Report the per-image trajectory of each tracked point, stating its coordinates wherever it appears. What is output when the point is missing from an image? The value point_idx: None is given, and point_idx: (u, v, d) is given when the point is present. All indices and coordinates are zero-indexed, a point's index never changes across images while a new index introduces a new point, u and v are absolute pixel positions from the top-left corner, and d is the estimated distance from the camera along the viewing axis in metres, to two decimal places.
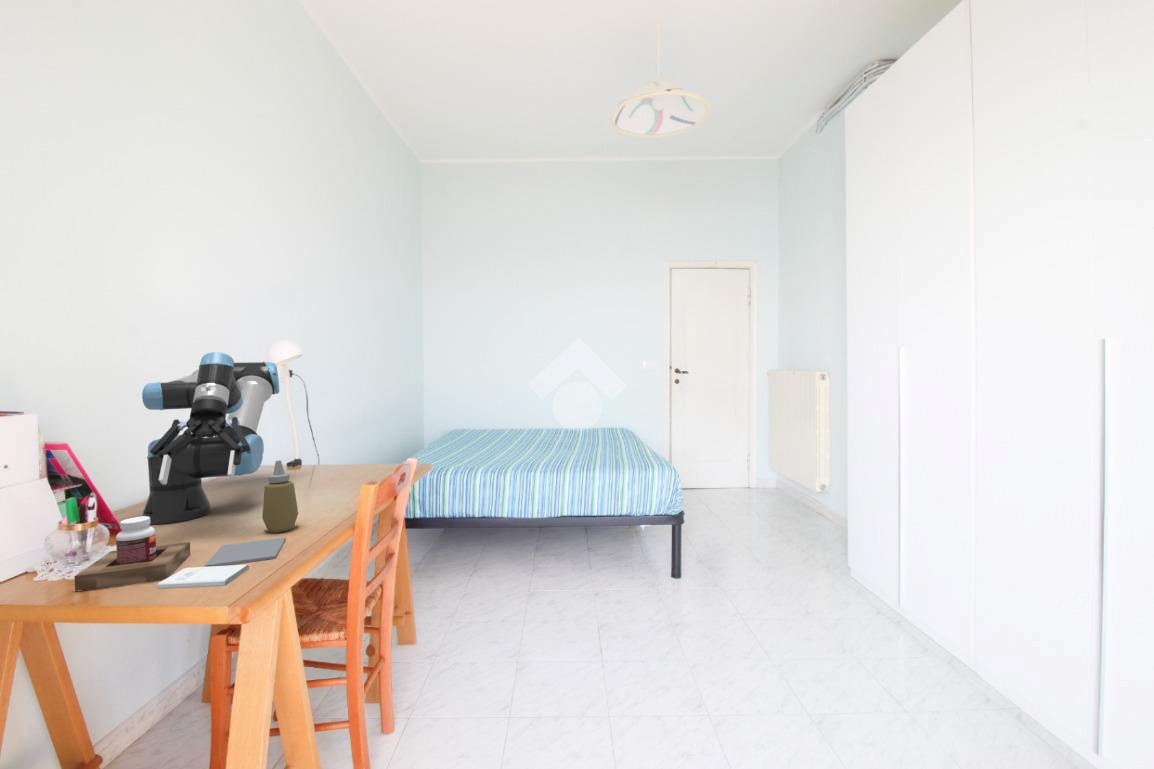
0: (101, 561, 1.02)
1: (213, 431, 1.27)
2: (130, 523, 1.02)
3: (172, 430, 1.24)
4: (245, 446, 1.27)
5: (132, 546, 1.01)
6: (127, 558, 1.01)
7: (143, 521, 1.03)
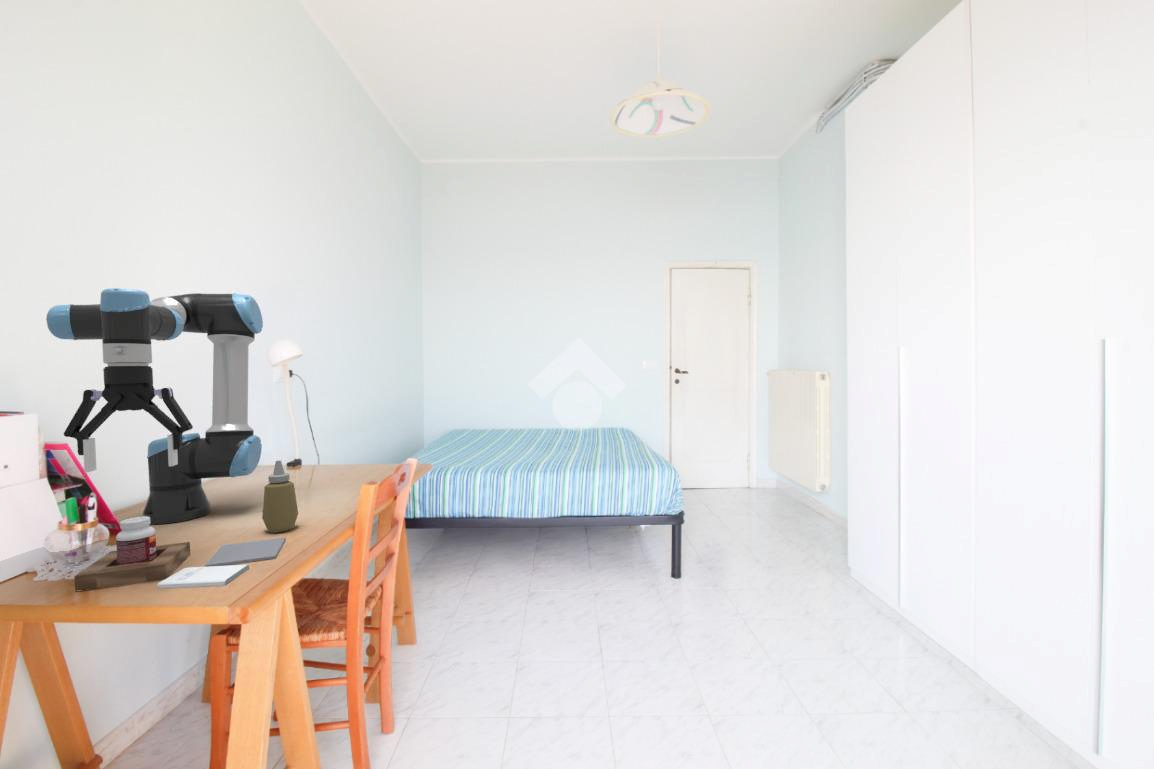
0: (101, 561, 1.02)
1: (140, 407, 1.03)
2: (130, 523, 1.02)
3: (85, 405, 0.99)
4: (184, 429, 1.05)
5: (132, 546, 1.01)
6: (127, 558, 1.01)
7: (143, 521, 1.03)
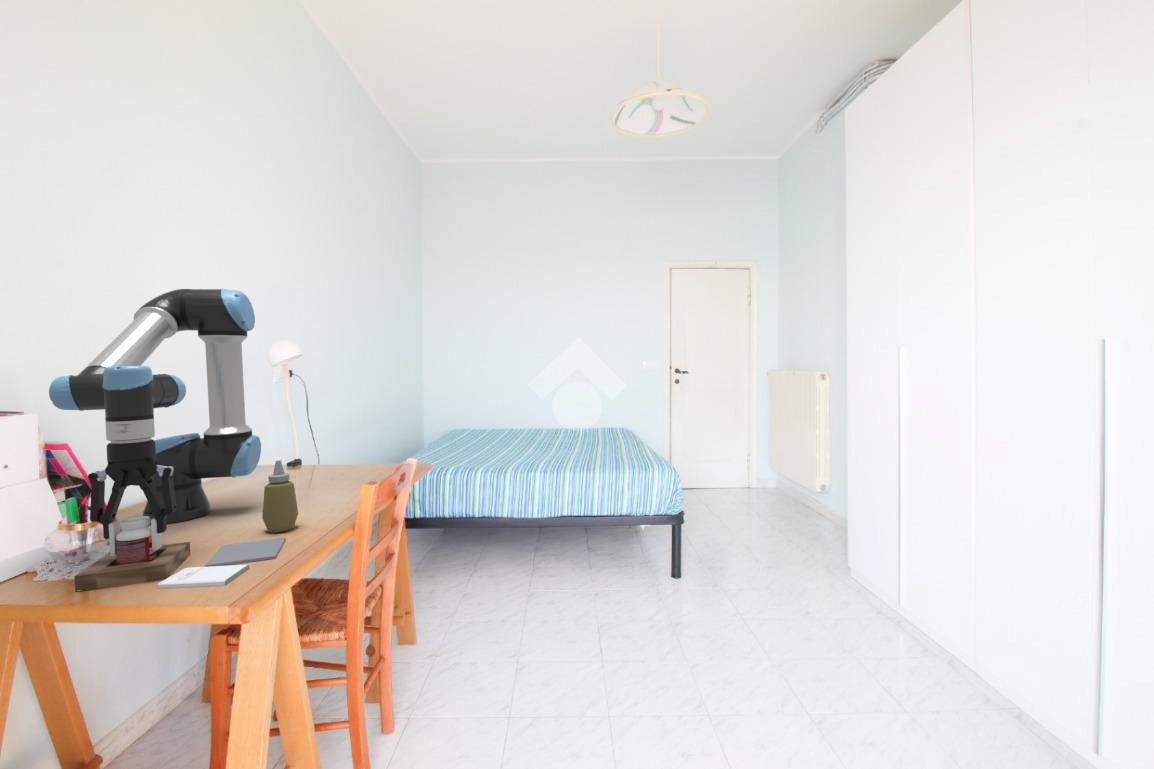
0: (101, 561, 1.02)
1: (137, 483, 1.03)
2: (130, 523, 1.02)
3: (96, 488, 1.00)
4: (167, 513, 1.05)
5: (132, 546, 1.01)
6: (127, 558, 1.01)
7: (143, 521, 1.03)
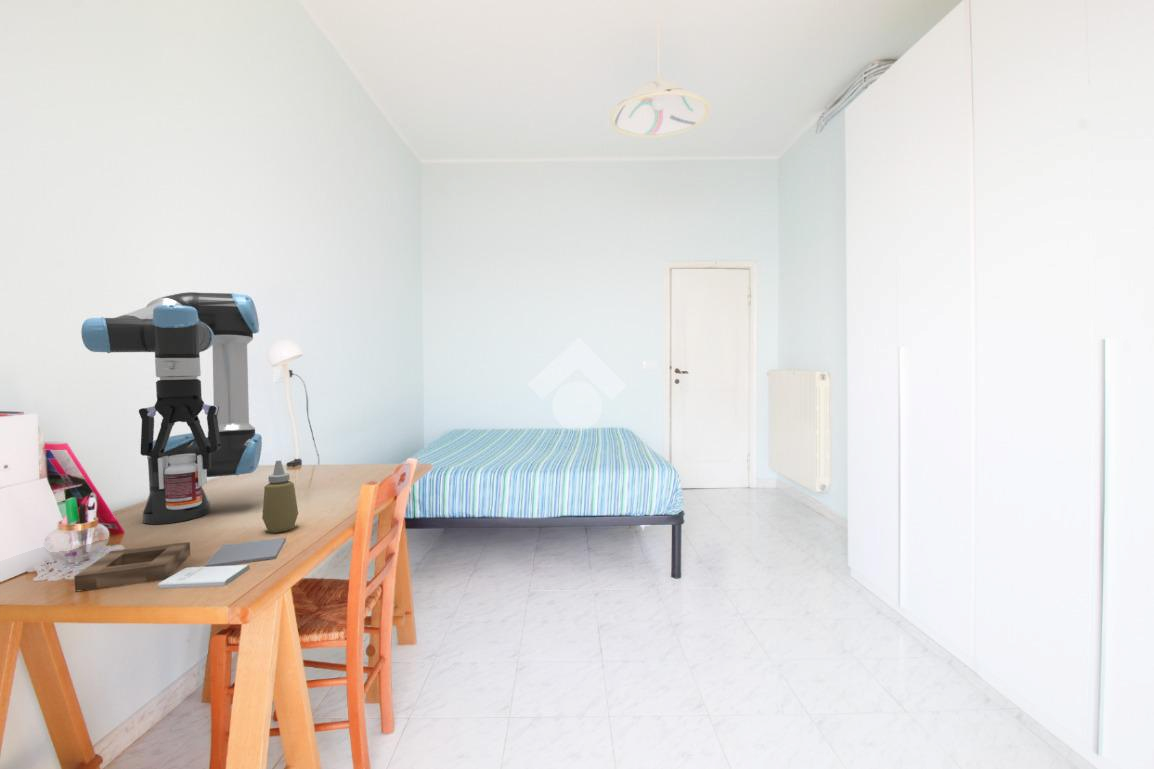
0: (101, 561, 1.02)
1: (184, 420, 1.06)
2: (177, 458, 1.05)
3: (146, 423, 1.04)
4: (213, 449, 1.08)
5: (180, 480, 1.05)
6: (175, 491, 1.05)
7: (189, 456, 1.07)
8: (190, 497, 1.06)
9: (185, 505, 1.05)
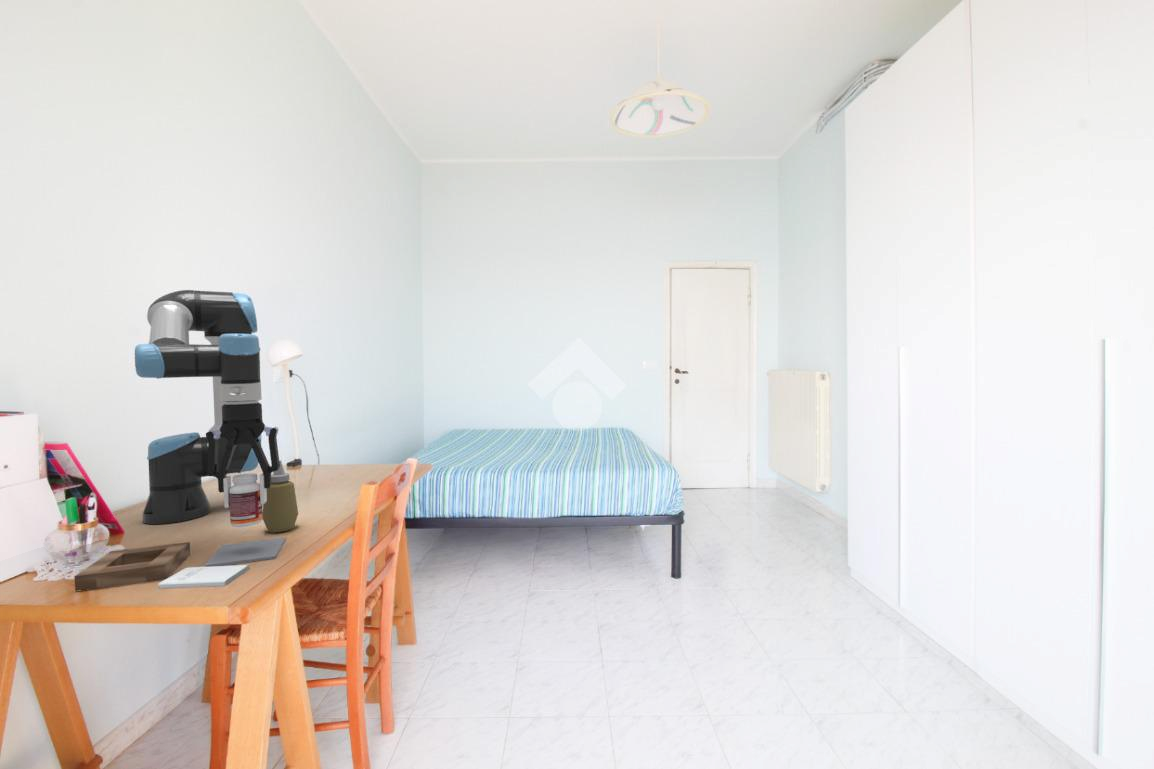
0: (101, 561, 1.02)
1: (247, 441, 1.12)
2: (242, 478, 1.11)
3: (213, 445, 1.10)
4: (274, 469, 1.14)
5: (245, 499, 1.11)
6: (240, 509, 1.10)
7: (253, 476, 1.13)
8: (254, 515, 1.12)
9: (249, 523, 1.11)
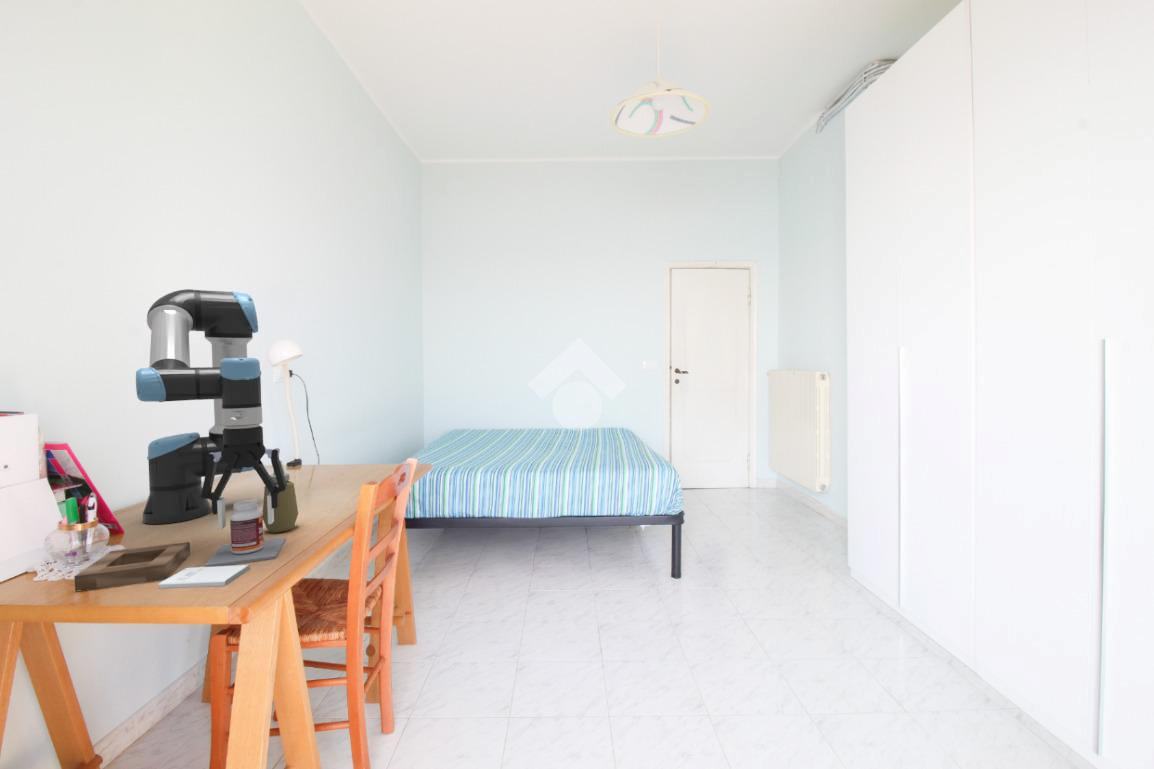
0: (101, 561, 1.02)
1: (250, 465, 1.13)
2: (243, 505, 1.12)
3: (211, 468, 1.10)
4: (281, 490, 1.15)
5: (246, 526, 1.11)
6: (241, 536, 1.11)
7: (253, 503, 1.13)
8: (255, 542, 1.12)
9: (250, 549, 1.12)
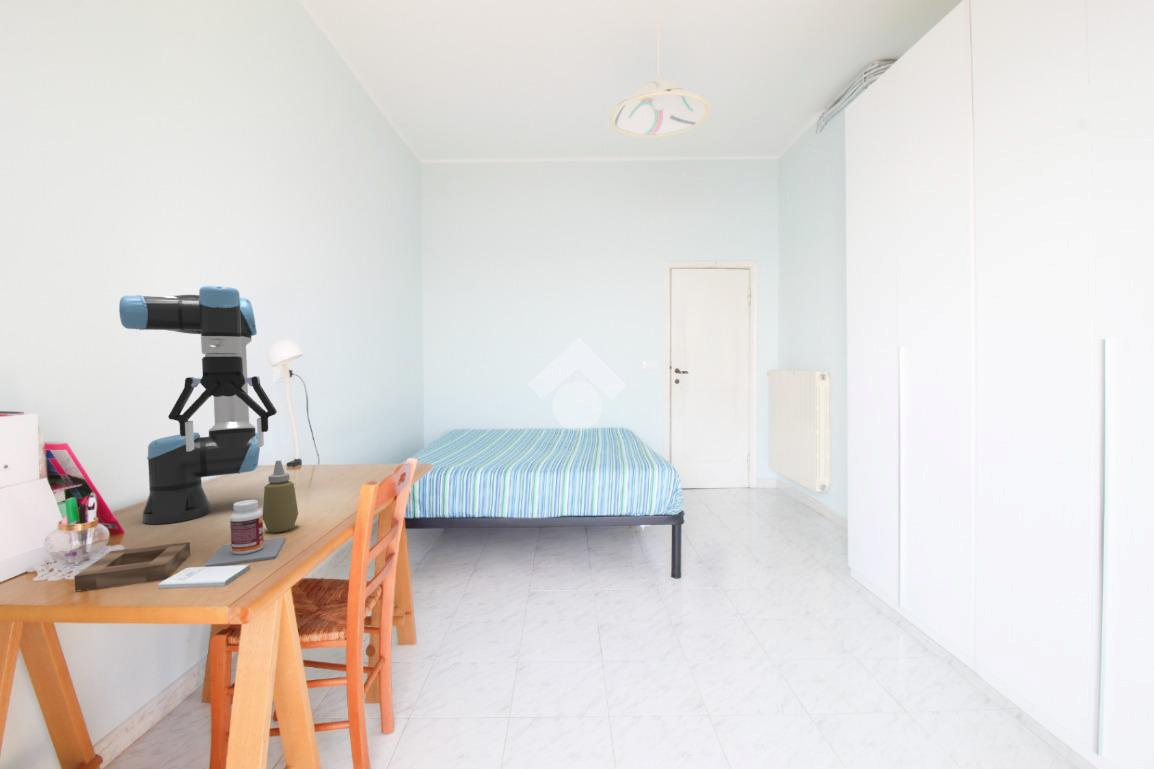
0: (101, 561, 1.02)
1: (233, 394, 1.14)
2: (243, 505, 1.11)
3: (187, 391, 1.11)
4: (271, 414, 1.17)
5: (246, 527, 1.11)
6: (241, 537, 1.11)
7: (253, 504, 1.13)
8: (255, 542, 1.12)
9: (250, 550, 1.12)
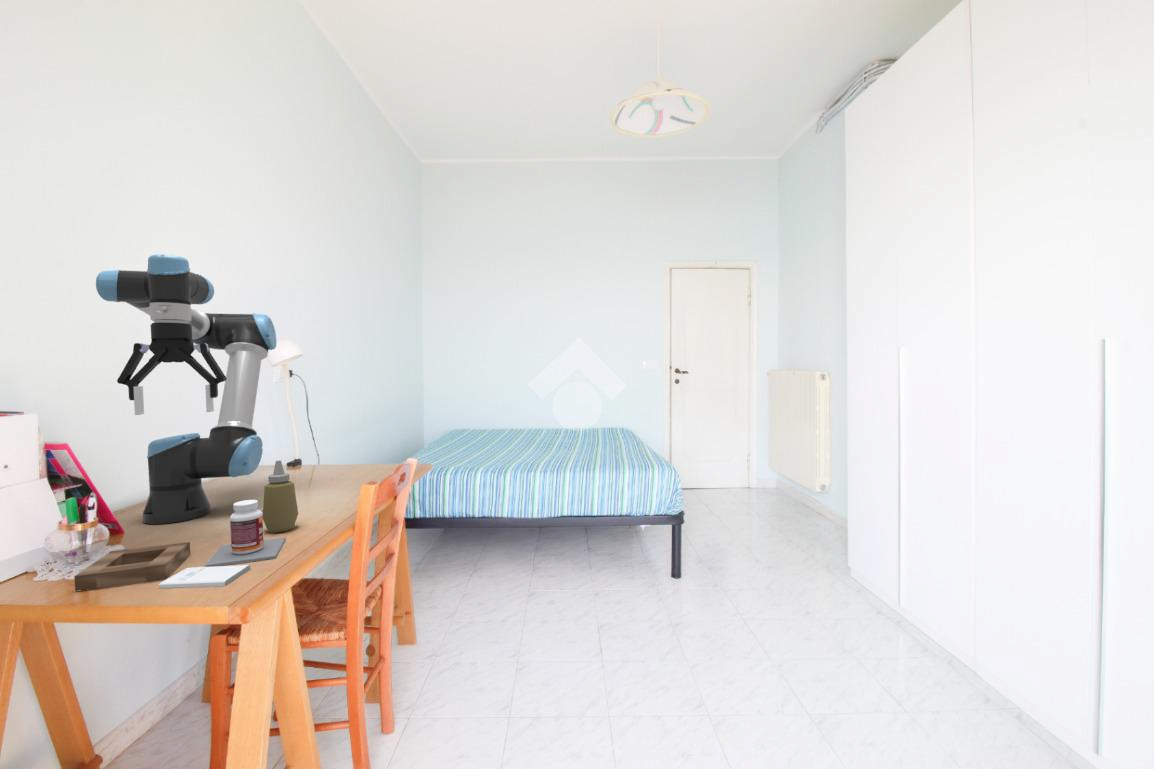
0: (101, 561, 1.02)
1: (181, 359, 1.17)
2: (243, 505, 1.11)
3: (135, 356, 1.14)
4: (220, 380, 1.20)
5: (246, 527, 1.11)
6: (241, 537, 1.11)
7: (253, 504, 1.13)
8: (255, 542, 1.12)
9: (250, 550, 1.12)
